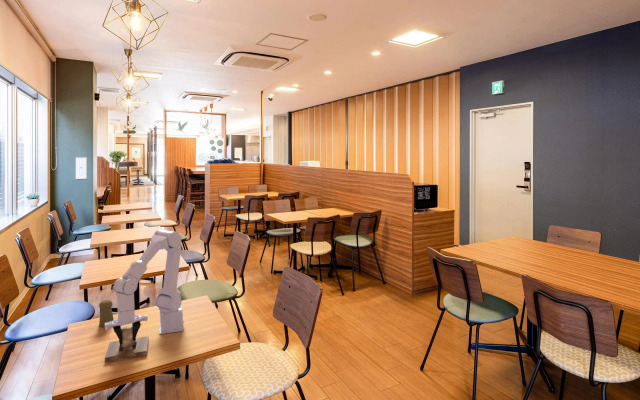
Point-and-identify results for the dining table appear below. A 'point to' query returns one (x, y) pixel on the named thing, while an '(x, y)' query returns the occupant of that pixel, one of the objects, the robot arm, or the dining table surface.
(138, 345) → the walnut board
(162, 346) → the dining table surface
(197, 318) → the dining table surface
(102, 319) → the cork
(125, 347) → the ash peg
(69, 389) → the dining table surface
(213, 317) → the dining table surface
